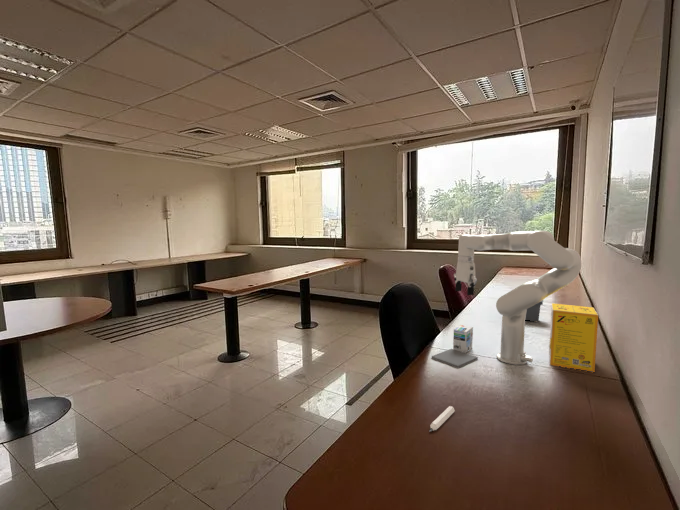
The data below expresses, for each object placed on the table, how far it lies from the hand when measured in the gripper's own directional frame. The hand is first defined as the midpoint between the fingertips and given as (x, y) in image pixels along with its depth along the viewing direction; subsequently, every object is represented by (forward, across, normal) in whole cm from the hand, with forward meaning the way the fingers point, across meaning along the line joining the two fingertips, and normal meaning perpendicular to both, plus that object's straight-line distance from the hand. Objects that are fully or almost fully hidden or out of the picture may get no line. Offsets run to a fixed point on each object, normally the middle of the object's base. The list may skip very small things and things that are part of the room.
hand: (464, 292), depth 171 cm
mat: (+28, -13, +13) cm, 34 cm away
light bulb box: (+28, -2, +1) cm, 29 cm away
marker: (+28, -56, +48) cm, 79 cm away
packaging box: (+28, -30, -36) cm, 55 cm away
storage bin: (+28, +35, -74) cm, 86 cm away
